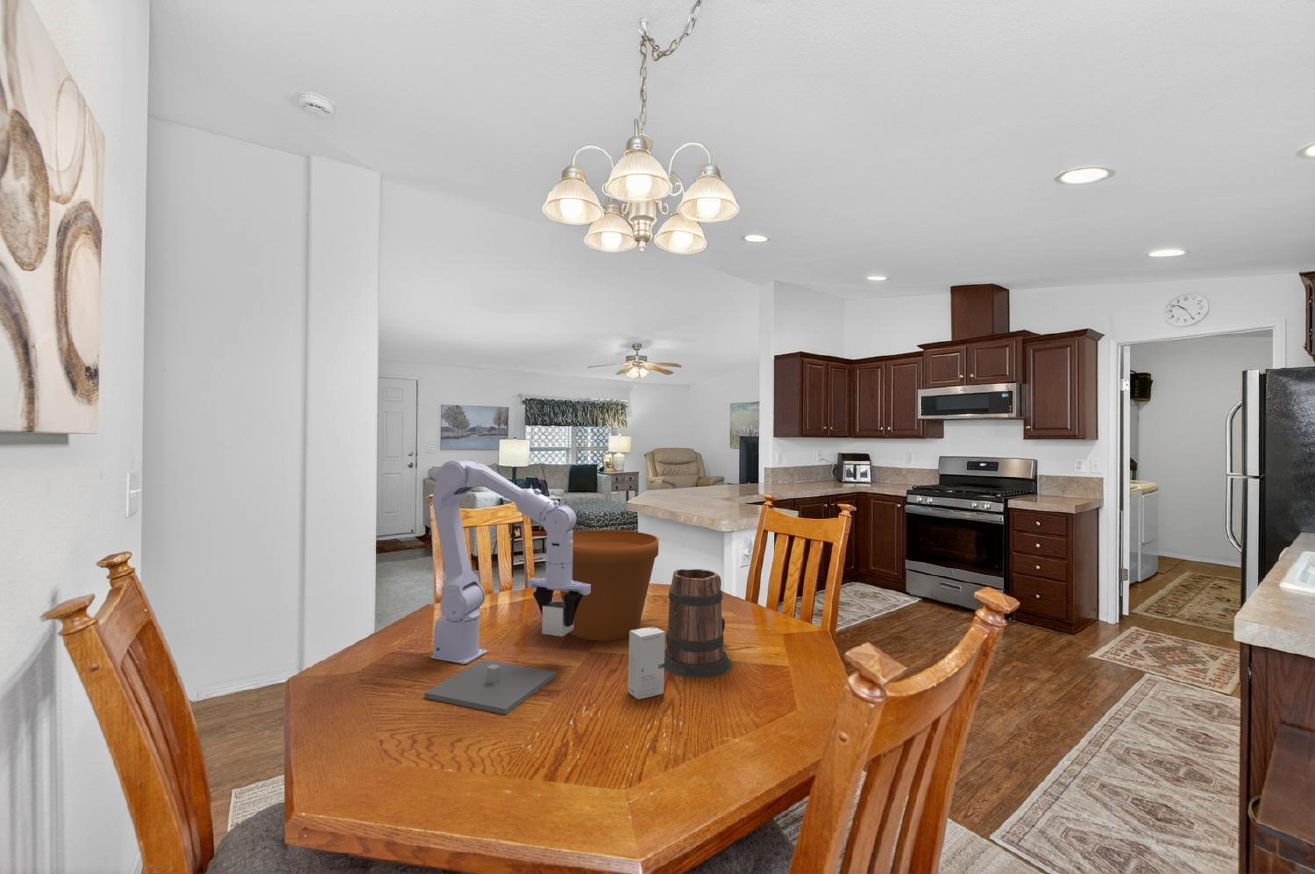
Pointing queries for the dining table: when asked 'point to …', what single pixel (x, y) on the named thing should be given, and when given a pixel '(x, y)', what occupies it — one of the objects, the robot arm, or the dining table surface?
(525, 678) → the block
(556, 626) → the square socket
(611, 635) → the flowerpot
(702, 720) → the dining table surface
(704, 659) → the tankard
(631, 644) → the skincare box
